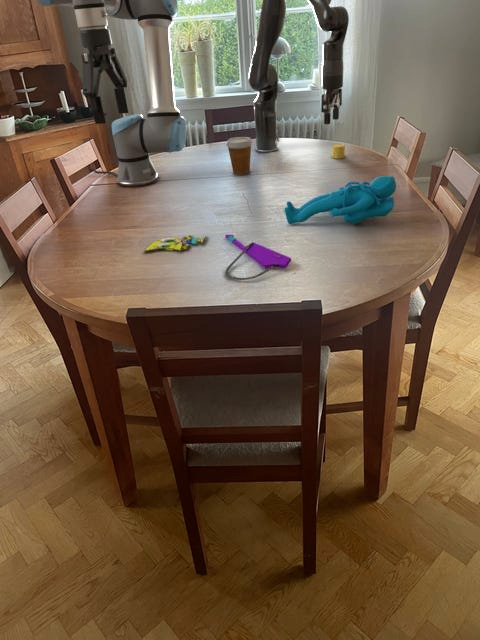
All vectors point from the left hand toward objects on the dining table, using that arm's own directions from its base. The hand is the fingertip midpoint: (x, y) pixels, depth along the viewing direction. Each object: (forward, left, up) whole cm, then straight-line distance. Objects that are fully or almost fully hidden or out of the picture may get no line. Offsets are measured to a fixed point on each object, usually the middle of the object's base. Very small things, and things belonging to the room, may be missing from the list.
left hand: (112, 118), depth 133 cm
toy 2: (+39, +49, -30) cm, 69 cm away
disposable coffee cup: (-23, +49, -30) cm, 62 cm away
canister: (-17, +89, -30) cm, 95 cm away
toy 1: (+26, +5, -30) cm, 40 cm away
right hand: (-14, +83, -15) cm, 86 cm away
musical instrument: (+46, +16, -30) cm, 57 cm away
